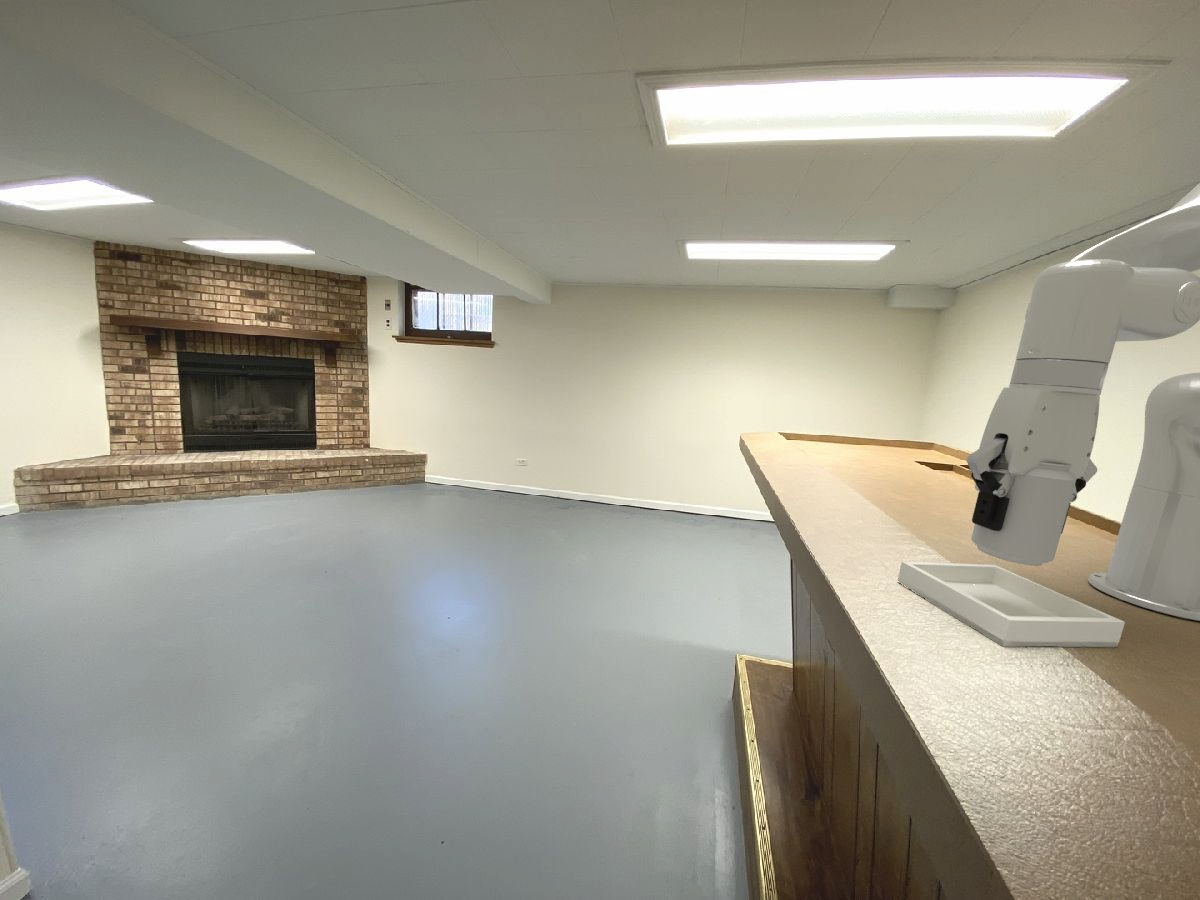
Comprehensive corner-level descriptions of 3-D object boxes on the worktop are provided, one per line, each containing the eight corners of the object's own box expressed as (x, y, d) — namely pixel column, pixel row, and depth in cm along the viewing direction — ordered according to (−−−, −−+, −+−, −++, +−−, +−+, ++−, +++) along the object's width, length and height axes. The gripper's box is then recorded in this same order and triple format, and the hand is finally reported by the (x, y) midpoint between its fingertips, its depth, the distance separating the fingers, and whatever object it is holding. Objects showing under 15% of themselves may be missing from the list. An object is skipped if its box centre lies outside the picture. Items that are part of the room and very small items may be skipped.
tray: (989, 584, 65) (995, 564, 64) (1117, 647, 50) (1125, 622, 50) (897, 582, 63) (901, 561, 62) (1002, 646, 48) (1009, 620, 48)
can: (1017, 548, 59) (1042, 455, 57) (1070, 572, 51) (1101, 467, 49) (955, 540, 59) (977, 448, 57) (999, 563, 52) (1026, 459, 50)
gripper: (1081, 385, 57) (1043, 522, 60) (958, 370, 54) (925, 514, 57) (1162, 388, 49) (1114, 544, 52) (1023, 371, 47) (982, 536, 50)
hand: (1015, 527), depth 55 cm, fingers closed on can, 7 cm apart
